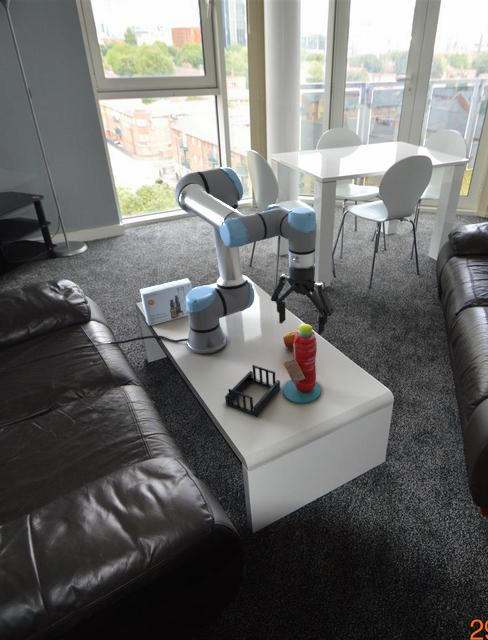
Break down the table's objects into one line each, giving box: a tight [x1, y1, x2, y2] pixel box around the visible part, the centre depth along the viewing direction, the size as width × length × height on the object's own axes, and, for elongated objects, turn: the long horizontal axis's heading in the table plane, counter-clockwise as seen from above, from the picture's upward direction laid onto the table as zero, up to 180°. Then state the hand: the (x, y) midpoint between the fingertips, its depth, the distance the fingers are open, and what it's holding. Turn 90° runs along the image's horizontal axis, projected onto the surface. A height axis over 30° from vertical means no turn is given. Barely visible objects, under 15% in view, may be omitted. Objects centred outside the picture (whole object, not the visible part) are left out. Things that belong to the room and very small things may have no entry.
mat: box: [282, 379, 322, 405], centre depth 151 cm, size 13×13×1 cm
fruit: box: [283, 330, 298, 352], centre depth 172 cm, size 8×8×8 cm
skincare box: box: [139, 277, 193, 327], centre depth 190 cm, size 21×6×16 cm, turn 120°
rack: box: [224, 364, 281, 418], centre depth 147 cm, size 12×15×7 cm
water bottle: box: [283, 323, 318, 393], centre depth 144 cm, size 12×8×25 cm, turn 129°
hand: (301, 326), depth 137 cm, fingers open, 13 cm apart
